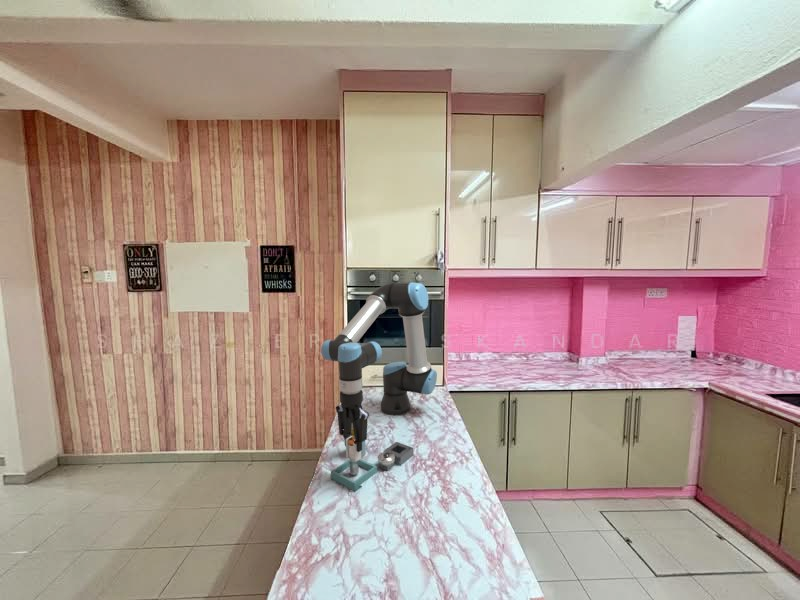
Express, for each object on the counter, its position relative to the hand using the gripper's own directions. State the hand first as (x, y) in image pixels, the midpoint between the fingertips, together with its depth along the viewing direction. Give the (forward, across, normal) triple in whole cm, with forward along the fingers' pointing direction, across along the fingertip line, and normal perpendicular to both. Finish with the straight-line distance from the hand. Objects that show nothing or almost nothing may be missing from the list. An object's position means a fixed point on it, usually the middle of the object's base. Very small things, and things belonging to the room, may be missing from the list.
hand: (353, 457), depth 115 cm
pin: (+5, 0, 0) cm, 5 cm away
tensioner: (+7, +6, +14) cm, 17 cm away
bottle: (+7, -9, +10) cm, 15 cm away
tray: (+7, 0, 0) cm, 7 cm away
